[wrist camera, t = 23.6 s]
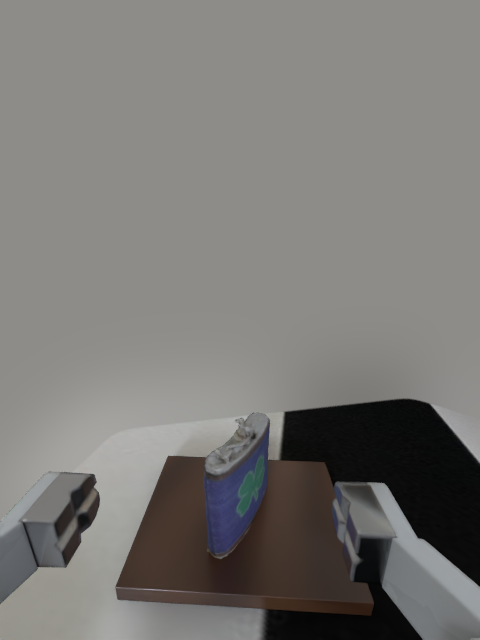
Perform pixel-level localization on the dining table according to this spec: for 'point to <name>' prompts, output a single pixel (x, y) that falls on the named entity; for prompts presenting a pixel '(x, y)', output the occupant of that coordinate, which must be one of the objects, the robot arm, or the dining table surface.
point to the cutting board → (244, 547)
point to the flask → (236, 484)
